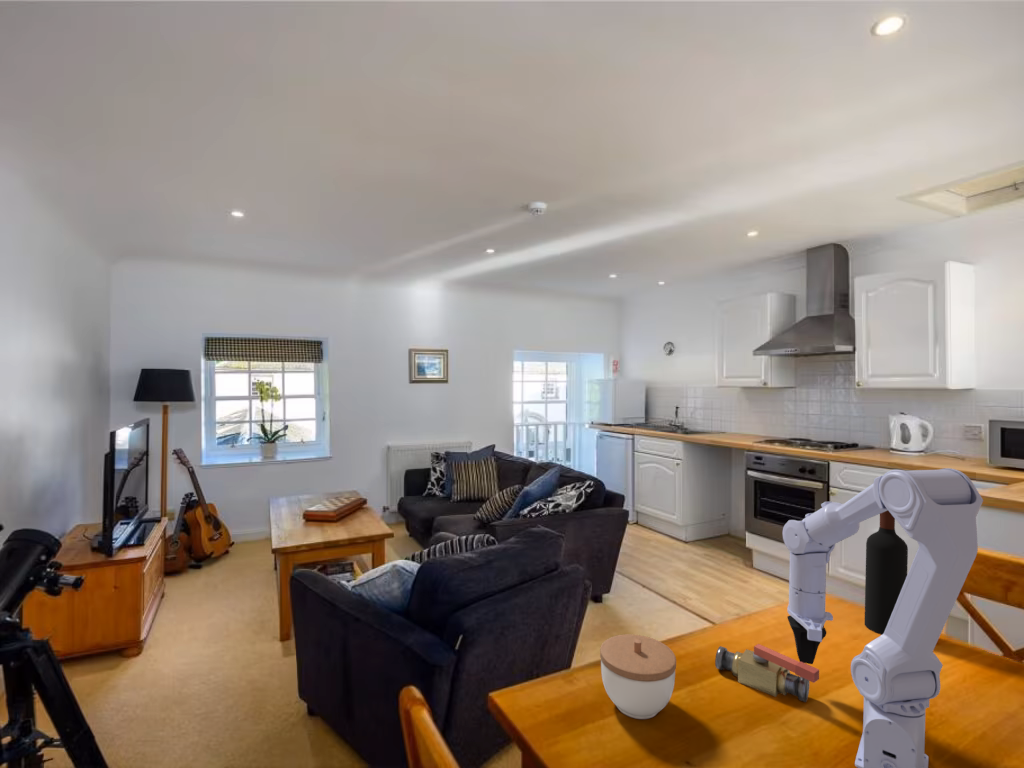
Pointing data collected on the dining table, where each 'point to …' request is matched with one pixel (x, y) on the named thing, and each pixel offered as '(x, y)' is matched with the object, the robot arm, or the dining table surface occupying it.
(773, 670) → the pipe valve
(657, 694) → the lidded bowl
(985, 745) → the dining table surface
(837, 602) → the dining table surface
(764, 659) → the lever
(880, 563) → the wine bottle
